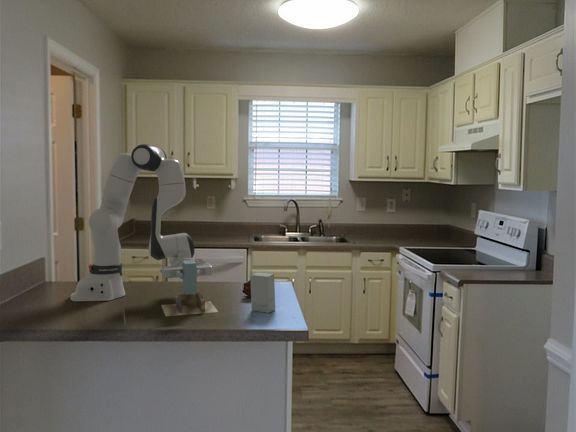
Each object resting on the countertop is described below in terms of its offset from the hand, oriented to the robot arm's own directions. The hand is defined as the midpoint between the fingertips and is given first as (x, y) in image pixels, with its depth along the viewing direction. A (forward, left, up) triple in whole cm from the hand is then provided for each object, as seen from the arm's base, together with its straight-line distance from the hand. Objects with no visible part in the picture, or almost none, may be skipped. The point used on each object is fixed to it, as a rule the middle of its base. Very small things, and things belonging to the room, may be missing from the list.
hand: (189, 275), depth 195 cm
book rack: (0, +1, -15) cm, 15 cm away
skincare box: (+28, -7, -15) cm, 32 cm away
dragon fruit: (+30, +15, -15) cm, 37 cm away
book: (0, +1, -7) cm, 7 cm away
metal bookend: (-4, +1, -14) cm, 14 cm away
